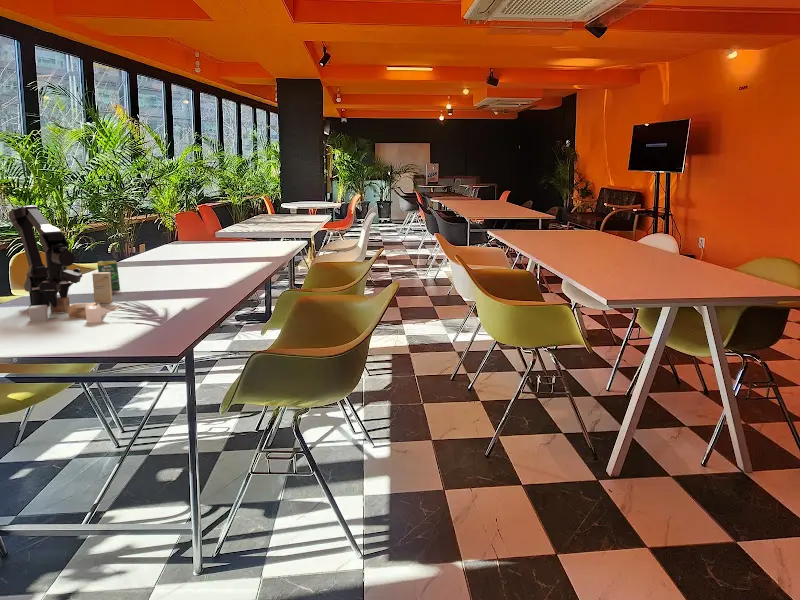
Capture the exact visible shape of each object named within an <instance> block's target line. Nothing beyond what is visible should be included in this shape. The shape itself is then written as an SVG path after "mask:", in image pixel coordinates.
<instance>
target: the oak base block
mask: <svg viewBox="0 0 800 600" xmlns="http://www.w3.org/2000/svg"><path fill="white" fill-rule="evenodd" d="M87 305H88V306H97V305H98V303H95V302H80V303H79V302H78V303H72V304H70V307H68V311H67V314H68V315H67V316H68V319H78V318H79V319H80V318H86V310H85V308H86V306H87Z"/></svg>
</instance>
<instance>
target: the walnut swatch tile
mask: <svg viewBox="0 0 800 600" xmlns="http://www.w3.org/2000/svg"><path fill="white" fill-rule="evenodd" d="M119 307H120V308H121V307H122V305H120V304H118V305H115V304H114V305H102V306H101V308H105V309H108V310H110V311H117V310H118V309H120V308H119ZM116 309H117V310H116Z"/></svg>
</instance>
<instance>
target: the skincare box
mask: <svg viewBox="0 0 800 600" xmlns="http://www.w3.org/2000/svg"><path fill="white" fill-rule="evenodd" d="M92 285H93V296H94V303H97V304H98V303H99V304H110V303H112V302H113V290H112V288H111V275H110V272H96V271H94V272H92Z"/></svg>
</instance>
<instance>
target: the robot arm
mask: <svg viewBox="0 0 800 600" xmlns="http://www.w3.org/2000/svg"><path fill="white" fill-rule="evenodd" d="M8 219H9V220H10V222H11V224H12V227H14V229H15V230H17V231H18V232H19V235H20V239H21V243H22V246H23V249H24V253H25V257H26V260H27V263H28V269H27V272H26V279H25V282H24V284H23V285H24V286H23V287H24V290H25V292H28V293H29V300H30V301H29V302H30V305H28V307H29V306H37V305H47V307H48V306H50V303H51V304H52V306H53V307H57V297H58V295H59V296H60V297H68V295H69V290H70V287H71V286H72V285H73V284H78V283H80V281H81V279H82V277H83V272H82V270H81V269H80V268H79V267H78V268H74V269H73V270H72V269H71V270H70V269H68V267H71V266H72V265H73V264H74V263H75V259H76V257H75V255H74V253H73V252H72V251H70V250H69V249H70V246H69V245H70V242H68V239H67V238H66V235H65V233H63V232H62V231H61V229H60V228H58V227H57V226H54V225H52V224H51V223H50V222H49V221H48V220H47V218H45V216H44V215H43V213H42V212H41V211H40V209H39V207H38V206H37V205H35V204H34V205H24V206H20V207H19V208H18V207H14V208H11V210H10V211H9V212H8ZM34 228H35V230H36V231H37V232H38V234H39V235H38V240H39V242H40V244H41V245H42V247H43V249H42V250H43V252H44V255H45V256H44V257H45V263H46V265H45V264H44V263H43V261H42V257H41V253H40V249H39V246H38V243H37V240H36V239H37V238H36V235H35V232H34Z"/></svg>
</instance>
